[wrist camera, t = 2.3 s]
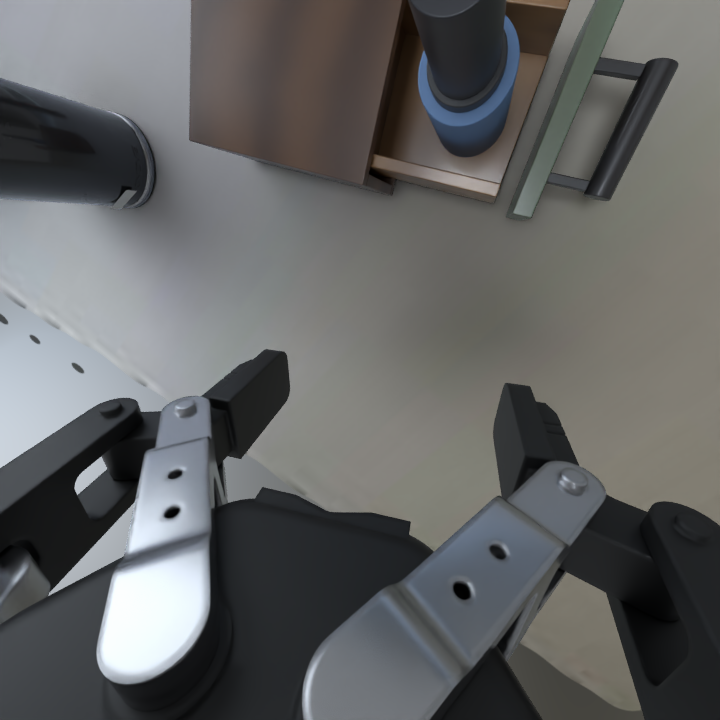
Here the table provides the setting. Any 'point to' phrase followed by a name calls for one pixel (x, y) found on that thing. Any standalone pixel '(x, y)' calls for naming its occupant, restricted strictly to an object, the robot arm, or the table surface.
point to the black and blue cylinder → (466, 70)
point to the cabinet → (294, 82)
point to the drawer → (519, 112)
